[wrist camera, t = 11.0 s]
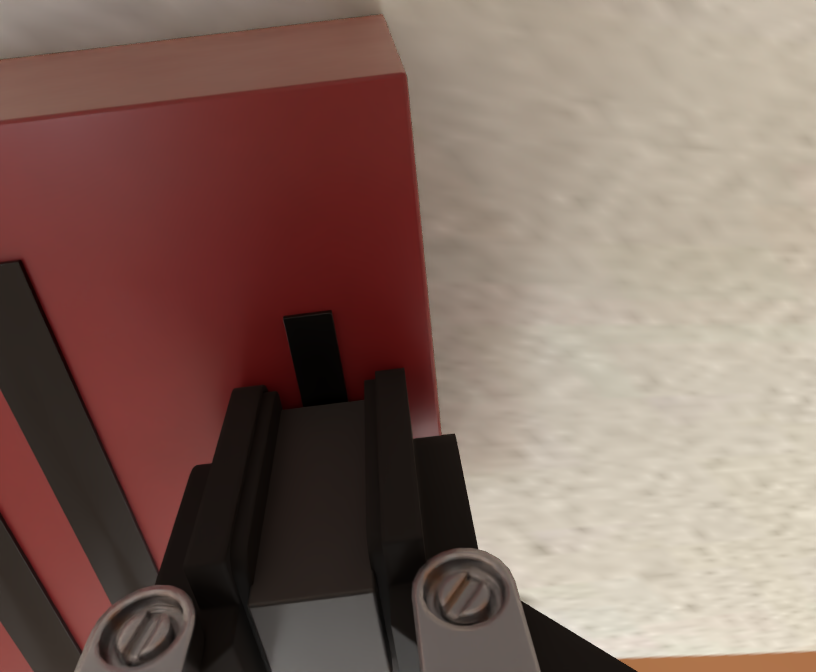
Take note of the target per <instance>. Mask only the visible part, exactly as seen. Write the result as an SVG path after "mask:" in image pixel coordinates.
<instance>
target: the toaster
mask: <svg viewBox="0 0 816 672" xmlns="http://www.w3.org/2000/svg"><path fill="white" fill-rule="evenodd" d="M397 368H404V369H405V377H406V385H407V393H408V401H409V409H410V417H411V425H412V433H413V439H414V438H422V437H431V436H439V435H442V433H441V423H440V412H439V402H438V391H437V381H436V371H435V360H434V350H433V340H432V329H431V319H430V309H429V298H428V288H427V278H426V267H425V257H424V246H423V236H422V226H421V215H420V205H419V195H418V184H417V174H416V164H415V153H414V143H413V133H412V122H411V112H410V101H409V91H408V81H407V75H406V72H405V70H404V67H403V65H402V62H401V59H400V57H399V54H398V52H397V49H396V46H395V44H394V41H393V39H392V36H391V33H390V31H389V28H388V26H387V23H386V21H385V18H384V16H383V15H382V14H379V15H370V16H362V17H354V18H345V19H337V20H329V21H320V22H312V23H303V24H295V25H287V26H278V27H270V28H261V29H253V30H245V31H236V32H228V33H220V34H211V35H203V36H194V37H186V38H178V39H169V40H161V41H152V42H144V43H136V44H127V45H119V46H111V47H102V48H94V49H85V50H77V51H69V52H60V53H52V54H43V55H35V56H27V57H18V58H10V59H2V60H0V672H74V670H75V668H76V666H77V663H78V661H79V658H80V656H81V654H82V651H83V649H84V647H85V644H86V642H87V639H88V637H89V635H90V633H91V631H92V629H93V627H94V626H95V624H96V622H97V621H98V619H99V618H100V617H101V616H102V615H103V614H104V613H105V612H106V610H107V609H108V608H109V607H110V606H111V605H113V604H114V603H116V602H117V601H118V600H120V599H121V598H123V597H124V596H125V595H128V594H130V593H132V592H134V591H136V590H138V589H141V588H145V587H149V586H154V585H155V583H156V579H157V576H158V573H159V570H160V567H161V564H162V560H163V557H164V554H165V551H166V548H167V545H168V542H169V538H170V535H171V532H172V529H173V526H174V523H175V519H176V516H177V513H178V510H179V507H180V504H181V501H182V497H183V494H184V491H185V488H186V485H187V482H188V478H189V475H190V473H191V471H192V468H193V467H194V466H196V465H200V464H209V463H212V460H213V457H214V453H215V450H216V446H217V443H218V439H219V436H220V432H221V428H222V425H223V421H224V418H225V414H226V411H227V407H228V404H229V400H230V396H231V393H232V390H233V389H234V388H240V387H248V386H256V385H265V386H266V387H267V389H268V392H273V391H277V392H278V394H279V397H280V400H281V404H282V408H283V410H285V409H293V408H302V407H310V406H318V405H326V404H334V403H342V402H351V401H359V400H364V380H371V379H375V371H380V370H388V369H397Z"/></svg>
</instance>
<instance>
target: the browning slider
mask: <svg viewBox="0 0 816 672" xmlns="http://www.w3.org/2000/svg"><path fill="white" fill-rule="evenodd" d="M247 607H248V610H249V612H250V615H251V618H252V621H253V624H254V627H255V629H256V632H257V635H258V638H259V641H260V644H261V646H262V649H263V652H264V655H265V658H266V661H267V663H268V666H269V669H270V672H393V666H392V657H391V652H390V647H389V642H388V636H387V631H386V626H385V620H384V615H383V610H382V605H381V599H380V594H379V589H378V583H377V578H376V573H375V571H374V570H371V565H370V560H369V554H368V546H367V534H366V482H365V411H364V400H359V401H351V402H342V403H334V404H326V405H318V406H310V407H302V408H293V409H285V410H281V416H280V422H279V428H278V434H277V441H276V447H275V453H274V459H273V465H272V471H271V478H270V484H269V490H268V496H267V502H266V508H265V515H264V521H263V527H262V533H261V539H260V545H259V551H258V558H257V564H256V570H255V576H254V582H253V585H251V587H250V592H249V598H248V604H247Z"/></svg>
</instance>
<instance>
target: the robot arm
mask: <svg viewBox="0 0 816 672" xmlns="http://www.w3.org/2000/svg"><path fill="white" fill-rule="evenodd" d="M281 410H283V408H282V404H281V400H280V397H279V394H278V392H277V391H273V392H268V389H267V387H266V386H265V385H256V386H248V387H240V388H234V389H233V390H232V393H231V396H230V400H229V404H228V407H227V411H226V414H225V418H224V421H223V425H222V428H221V432H220V436H219V439H218V443H217V446H216V450H215V453H214V457H213V460H212V463H209V464H200V465H196V466H194V467H193V468H192V471H191V473H190V475H189V478H188V482H187V485H186V488H185V491H184V494H183V497H182V501H181V504H180V507H179V510H178V513H177V516H176V519H175V523H174V526H173V529H172V532H171V535H170V538H169V542H168V545H167V548H166V551H165V554H164V557H163V560H162V564H161V567H160V570H159V573H158V576H157V579H156V583H155V585H154V586H149V587H145V588H141V589H138V590H136V591H134V592H132V593H130V594H128V595H125V596H124V597H123V598H121V599H120V600H118V601H117V602H116V603H114V604H113V605H111V606H110V607H109V608H108V609H107V610H106V612H105V613H104V614H103V615H102V616H101V617H100V618H99V619H98V621H97V622H96V624H95V626H94V627H93V629H92V631H91V633H90V635H89V637H88V639H87V642H86V644H85V647H84V649H83V651H82V654H81V656H80V658H79V661H78V663H77V666H76V668H75V670H74V672H270V669H269V666H268V663H267V661H266V658H265V655H264V652H263V649H262V646H261V644H260V641H259V638H258V635H257V632H256V629H255V627H254V624H253V621H252V618H251V615H250V612H249V610H248V607H247V604H248V598H249V592H250V587H251V585H253V582H254V576H255V570H256V564H257V558H258V551H259V545H260V539H261V533H262V527H263V521H264V515H265V508H266V502H267V496H268V490H269V484H270V478H271V471H272V465H273V459H274V453H275V447H276V441H277V434H278V428H279V422H280V416H281ZM364 411H365V482H366V534H367V546H368V554H369V560H370V565H371V570H374V571H375V573H376V578H377V583H378V589H379V594H380V599H381V605H382V610H383V615H384V620H385V626H386V631H387V636H388V642H389V647H390V652H391V657H392V666H393V672H637V671H636V670H634V669H632V668H631V667H629V666H627V665H626V664H624V663H622V662H621V661H619V660H618V659H616V658H614V657H613V656H611V655H609V654H608V653H606V652H604V651H603V650H601V649H600V648H598V647H596V646H595V645H593V644H591V643H590V642H588V641H586V640H585V639H583V638H581V637H580V636H578V635H577V634H575V633H573V632H572V631H570V630H568V629H567V628H565V627H563V626H562V625H560V624H558V623H557V622H555V621H553V620H552V619H550V618H549V617H547V616H545V615H544V614H542V613H540V612H539V611H537V610H535V609H534V608H532V607H530V606H529V605H527V604H526V603H524V602H522V601H521V600H520V596H519V593H518V589H517V586H516V582H515V580H514V578H513V576H512V574H511V572H510V570H509V568H508V567H507V566H506V565H505V564H504V563H503V562H502V561H501V560H500V559H499V558H497V557H495V556H493V555H491V554H489V553H488V552H486V551H482V550H478V545H477V540H476V535H475V530H474V525H473V520H472V515H471V510H470V505H469V500H468V495H467V490H466V485H465V480H464V475H463V470H462V465H461V460H460V455H459V450H458V445H457V440H456V436H455V434H447V435H439V436H431V437H422V438H414V439H413V433H412V425H411V417H410V409H409V401H408V393H407V385H406V377H405V369H404V368H397V369H388V370H380V371H375V379H371V380H364Z"/></svg>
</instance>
